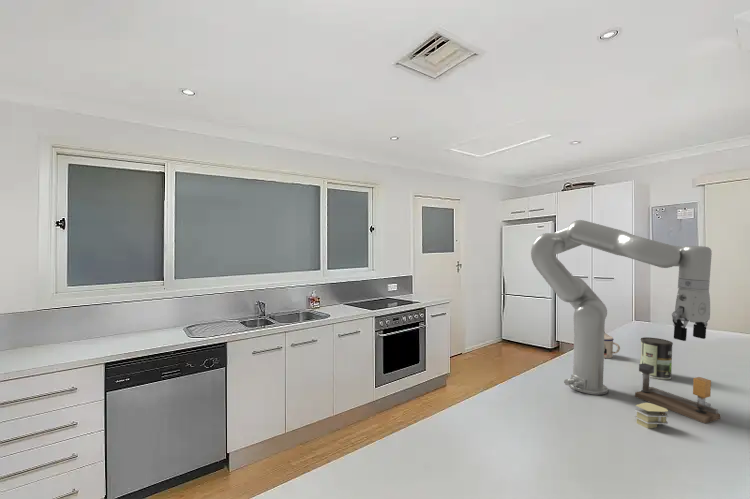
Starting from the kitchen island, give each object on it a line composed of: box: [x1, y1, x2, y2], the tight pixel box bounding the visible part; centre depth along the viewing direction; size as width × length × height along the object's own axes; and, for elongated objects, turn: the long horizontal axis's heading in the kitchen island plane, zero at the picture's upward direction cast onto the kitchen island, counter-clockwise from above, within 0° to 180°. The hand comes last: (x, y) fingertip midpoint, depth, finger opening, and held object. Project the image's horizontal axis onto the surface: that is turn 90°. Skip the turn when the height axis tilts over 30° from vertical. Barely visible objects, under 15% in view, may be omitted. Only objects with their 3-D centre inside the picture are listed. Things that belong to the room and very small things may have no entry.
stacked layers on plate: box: [634, 402, 669, 429], centre depth 107 cm, size 10×9×6 cm
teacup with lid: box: [604, 330, 621, 359], centre depth 173 cm, size 12×9×12 cm
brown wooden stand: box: [634, 363, 721, 424], centre depth 120 cm, size 8×20×11 cm, turn 23°
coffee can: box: [639, 336, 674, 380], centre depth 149 cm, size 10×10×14 cm
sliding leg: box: [692, 376, 712, 411], centre depth 113 cm, size 5×3×10 cm, turn 113°
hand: (689, 338), depth 117 cm, fingers open, 9 cm apart
